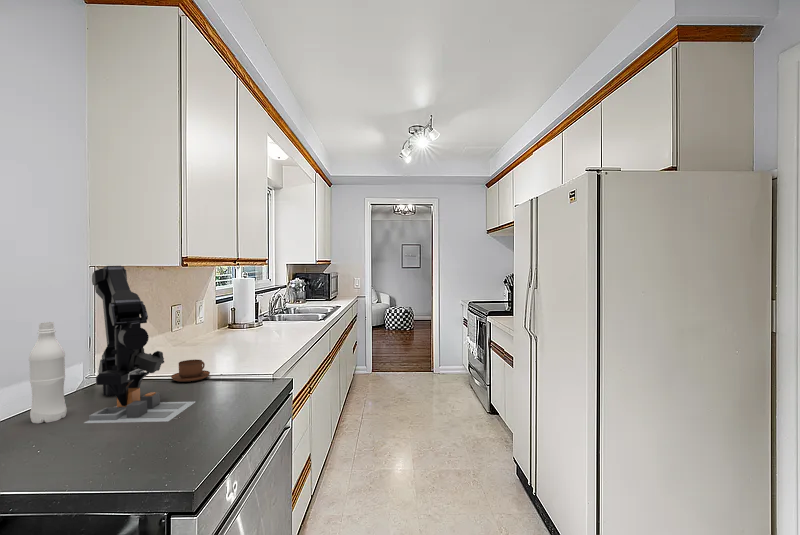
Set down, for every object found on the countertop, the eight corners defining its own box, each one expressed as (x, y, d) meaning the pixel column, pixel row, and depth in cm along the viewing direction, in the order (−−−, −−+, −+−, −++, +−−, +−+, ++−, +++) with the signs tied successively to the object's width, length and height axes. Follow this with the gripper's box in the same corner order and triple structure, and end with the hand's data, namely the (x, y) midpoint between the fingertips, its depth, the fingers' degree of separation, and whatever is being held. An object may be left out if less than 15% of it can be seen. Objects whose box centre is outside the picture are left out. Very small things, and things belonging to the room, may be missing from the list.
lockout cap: (117, 407, 125) (116, 392, 125) (125, 402, 129) (125, 388, 129) (132, 407, 125) (131, 392, 125) (140, 402, 129) (140, 387, 129)
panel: (83, 429, 113) (83, 410, 113) (121, 408, 129) (121, 391, 129) (168, 427, 113) (167, 408, 113) (196, 407, 129) (195, 390, 129)
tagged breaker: (140, 408, 123) (140, 395, 123) (148, 403, 127) (148, 391, 127) (152, 408, 123) (152, 395, 123) (160, 403, 127) (159, 391, 127)
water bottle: (73, 421, 119) (71, 321, 119) (44, 431, 112) (41, 325, 112) (53, 418, 122) (50, 320, 121) (23, 428, 115) (20, 324, 114)
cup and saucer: (182, 375, 167) (181, 358, 167) (215, 375, 167) (215, 357, 167) (164, 384, 155) (163, 365, 155) (200, 384, 155) (200, 365, 155)
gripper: (139, 350, 118) (140, 413, 118) (173, 338, 136) (175, 392, 137) (93, 351, 118) (95, 414, 118) (134, 339, 136) (136, 393, 137)
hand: (128, 403), depth 127 cm, fingers closed on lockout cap, 4 cm apart
